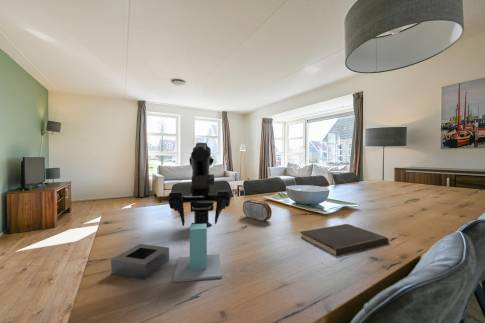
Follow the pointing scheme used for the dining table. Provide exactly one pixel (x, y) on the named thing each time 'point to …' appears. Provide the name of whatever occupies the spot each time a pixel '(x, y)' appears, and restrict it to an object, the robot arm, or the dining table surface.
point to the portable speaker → (257, 210)
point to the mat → (186, 275)
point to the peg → (198, 247)
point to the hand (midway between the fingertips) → (199, 224)
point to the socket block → (140, 261)
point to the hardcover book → (343, 238)
